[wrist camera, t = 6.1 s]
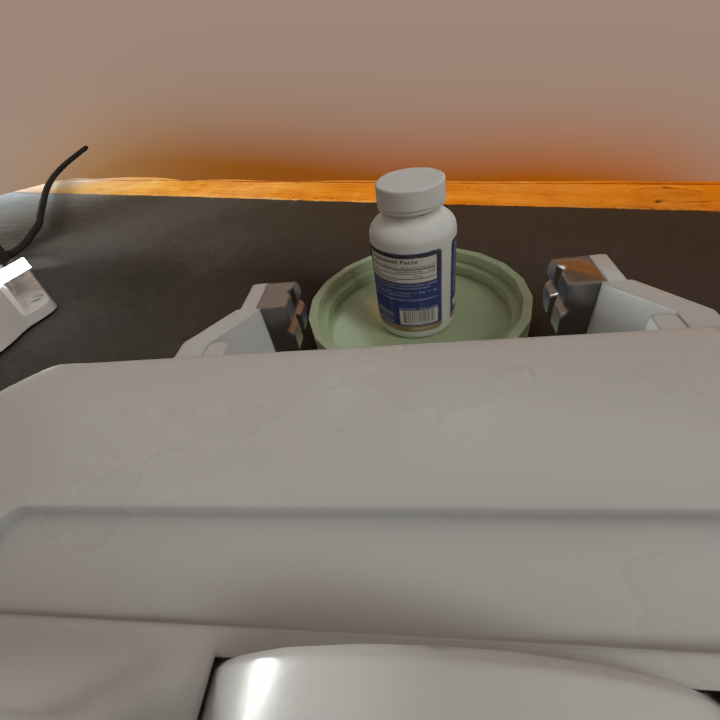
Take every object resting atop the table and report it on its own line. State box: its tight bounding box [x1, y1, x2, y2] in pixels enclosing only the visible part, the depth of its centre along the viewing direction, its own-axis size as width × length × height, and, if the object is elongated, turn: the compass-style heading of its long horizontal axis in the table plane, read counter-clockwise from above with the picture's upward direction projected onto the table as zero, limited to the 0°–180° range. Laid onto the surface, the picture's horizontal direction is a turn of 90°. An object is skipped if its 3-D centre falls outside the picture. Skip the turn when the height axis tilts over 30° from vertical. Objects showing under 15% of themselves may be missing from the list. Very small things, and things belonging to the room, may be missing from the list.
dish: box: [309, 248, 533, 350], centre depth 28 cm, size 15×15×2 cm
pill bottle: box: [369, 167, 457, 338], centre depth 25 cm, size 5×5×10 cm
